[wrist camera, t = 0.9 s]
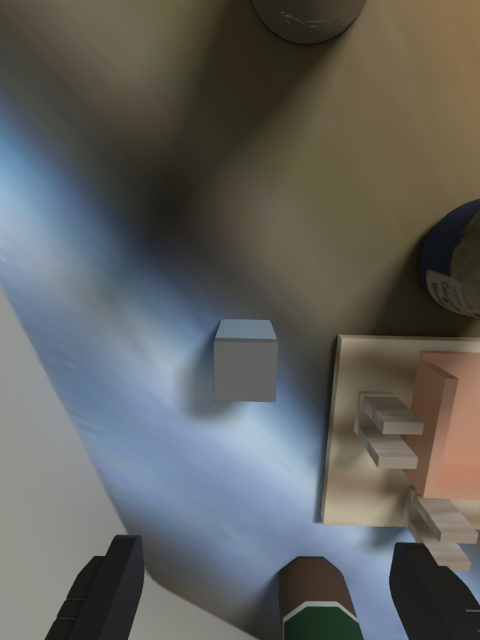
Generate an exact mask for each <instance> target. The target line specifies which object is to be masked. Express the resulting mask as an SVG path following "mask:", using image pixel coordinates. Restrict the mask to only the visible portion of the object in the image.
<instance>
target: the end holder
mask: <svg viewBox="0 0 480 640" xmlns="http://www.w3.org/2000/svg"><path fill="white" fill-rule="evenodd" d="M411 411H412V412H413V413H414V414H415V415H417V416H418V417H419V418H420V419H421V420H422V421H423V422H424V428H423V433H422V435H415V434H407V435H406V441H405V443H406V444H407V445H408V446H409V448H410V449H411V450H412V451H413V452H414V453H415V455H416V456H417V457H418V462H417V467H416V469H402V470H403V471H404V473H405V474H406V475H407V477H408V478H409V480H410V481H411V482H412V484H413V485H414V486H415V488H416V489H417V490H418V492H419V493H420V495H421V496H422V497H423V498H437V499H474V500H480V352H443V351H420V355H419V362H418V368H417V374H416V380H415V386H414V392H413V398H412V404H411Z"/></svg>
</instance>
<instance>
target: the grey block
mask: <svg viewBox="0 0 480 640" xmlns="http://www.w3.org/2000/svg"><path fill="white" fill-rule="evenodd" d="M277 361H278V341H277V338H276V336H275V333H274V330H273V328H272V325H271V322H270V320H234V319H221V322H220V325H219V328H218V331H217V334H216V337H215V340H214V401H250V402H275V400H276V381H277Z"/></svg>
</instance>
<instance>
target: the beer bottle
mask: <svg viewBox="0 0 480 640" xmlns="http://www.w3.org/2000/svg"><path fill="white" fill-rule="evenodd" d="M279 605H280V618H281V628H282V638H283V640H364V639H363V636H362V632H361V629H360V626H359V623H358V619H357V616H356V613H355V610H354V607H353V603H352V600H351V597H350V594H349V591H348V588H347V585H346V582H345V580H344V577H343V574H342V573H341V572H340V571H339V570H338V569H337V568H336V567H335V566H334V565H332V564H331V563H330V562H329V561H328V560H326V559H325V558H324V557H297V558H296V559H295V560H293V561H292V562H291V563H289V564H288V565H287V566H285V567H284V568H283V569H281V570H280V573H279Z"/></svg>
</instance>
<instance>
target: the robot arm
mask: <svg viewBox="0 0 480 640" xmlns="http://www.w3.org/2000/svg"><path fill="white" fill-rule="evenodd" d="M366 1H367V0H252V3H253V6H254V8H255V9H256V11H257V13H258V15H259V17H260V18H261V20H262V21H263V22H264V23H265V24H266V25H267V26H268V28H269V29H270V30H272V31H273V32H274V33H276V34H277V35H279V36H280V37H281V38H284V39H286V40H289V41H291V42H295V43H302V44H312V43H320V42H322V41H325V40H328V39H331V38H333V37H334V36H336V35H337V34H339V33H340V32H342V31H344V30H345V29H346V28H347V27H348V26H349V25H350V24H351V23H352V22H353V21H354V20H355V18H356V17H357V16H358V14H359V13H360V11H361V10H362V8H363V7H364V5H365V3H366ZM143 582H144V560H143V549H142V538H141V536H140V535H116V536H115V537H114V539H113V541H112V542H111V545H110V547H109V549H108V551H107V553H106V556H94V557H93V558H92V559H91V560H90V562H89V563H88V564H87V565H86V566H85V567H84V568H83V569H82V571H81V572H80V573H79V574H78V575H77V578H76V579H75V581H74V583H73V586H72V587H71V589H70V591H69V594H68V595H67V599H66V601H64V603H63V605H62V607H61V609H60V611H59V613H58V615H57V618H56V620H55V621H54V623H53V625H52V626H51V628H50V630H49V632H48V634H47V636H46V638H45V640H128V637H129V634H130V631H131V627H132V624H133V620H134V617H135V614H136V610H137V607H138V604H139V600H140V597H141V593H142V588H143ZM389 585H390V591H391V596H392V599H393V602H394V605H395V608H396V610H397V612H398V615H399V617H400V619H401V622H402V624H403V627H404V629H405V631H406V634H407V636H408V638H409V640H480V605H479V603H478V602H477V600H476V599H475V597H474V596H473V594H472V593H471V591H470V590H469V588H468V587H467V585H466V584H465V583H464V582H463V581H462V580H461V579H460V578H459V577H458V576H457V575H456V574H455V573H454V572H453V571H452V570H451V569H450V568H449V567H448V566H438V564H437V562H436V561H435V559H434V558H433V556H432V554H431V553H430V551H429V549H428V548H427V547H426V546H425V545H424V544H423V543H406V542H397V543H396V544H395V548H394V553H393V559H392V565H391V571H390V576H389Z"/></svg>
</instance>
